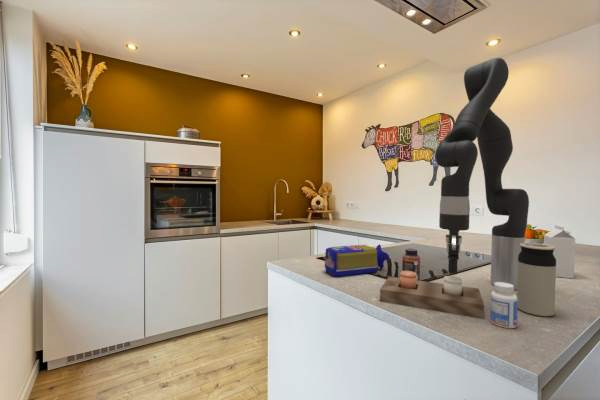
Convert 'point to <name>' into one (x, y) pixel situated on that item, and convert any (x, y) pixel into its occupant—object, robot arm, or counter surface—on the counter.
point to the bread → (354, 260)
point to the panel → (433, 297)
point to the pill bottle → (504, 305)
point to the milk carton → (562, 250)
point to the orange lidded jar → (408, 279)
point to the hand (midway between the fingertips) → (452, 272)
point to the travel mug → (536, 279)
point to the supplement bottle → (411, 262)
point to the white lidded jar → (452, 285)
